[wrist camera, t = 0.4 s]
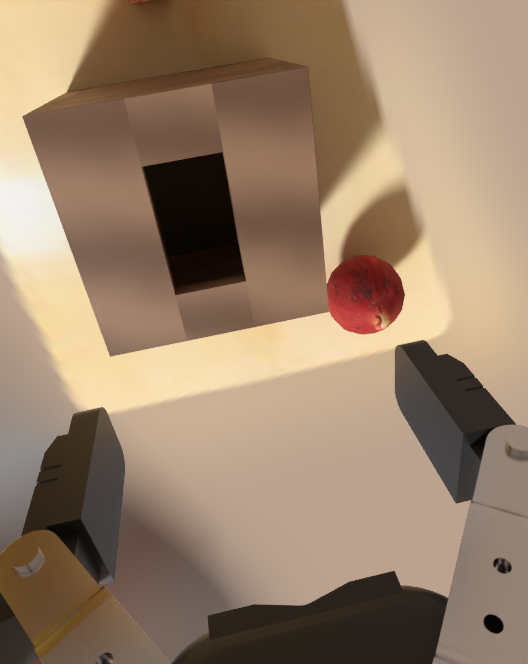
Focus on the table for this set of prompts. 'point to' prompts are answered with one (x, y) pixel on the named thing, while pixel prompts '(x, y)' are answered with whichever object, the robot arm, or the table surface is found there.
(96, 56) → the table surface
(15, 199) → the table surface
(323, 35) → the table surface
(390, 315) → the red pomegranate
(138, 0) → the tall salmon pink box
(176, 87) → the box
